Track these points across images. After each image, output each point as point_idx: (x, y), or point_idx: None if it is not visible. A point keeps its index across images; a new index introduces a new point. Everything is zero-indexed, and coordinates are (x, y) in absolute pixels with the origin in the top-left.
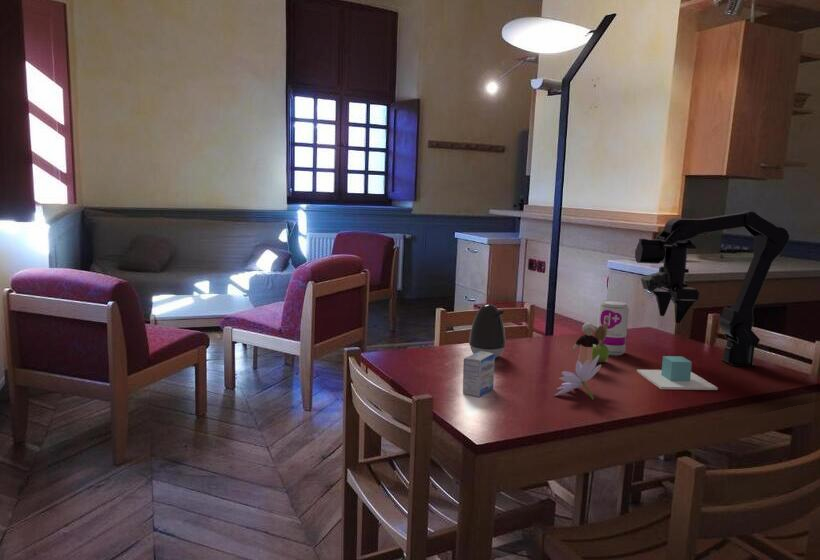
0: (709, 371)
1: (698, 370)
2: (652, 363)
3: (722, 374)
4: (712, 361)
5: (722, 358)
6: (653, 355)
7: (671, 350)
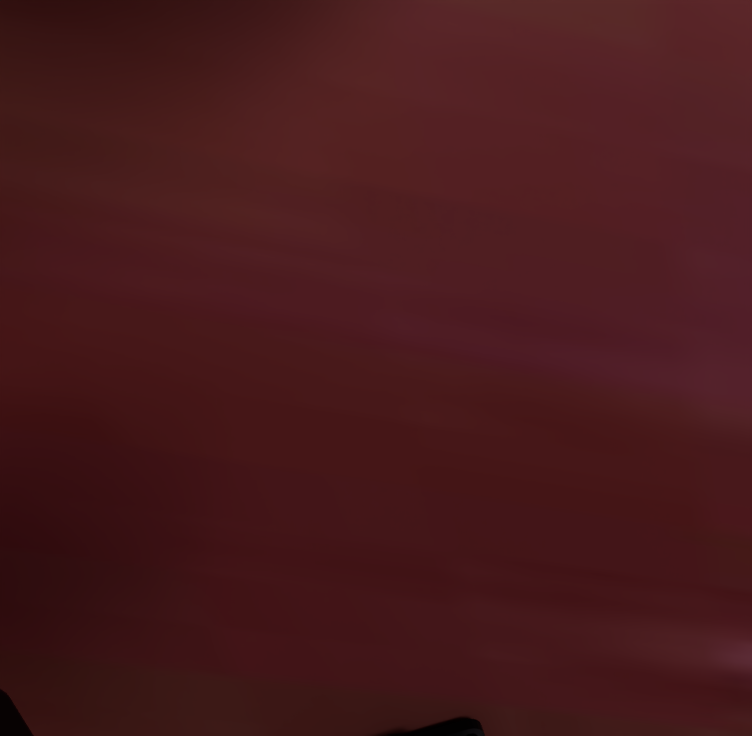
0: (74, 596)
1: (65, 519)
2: (153, 105)
3: (20, 670)
4: (427, 656)
5: (477, 732)
6: (523, 190)
7: (743, 407)
